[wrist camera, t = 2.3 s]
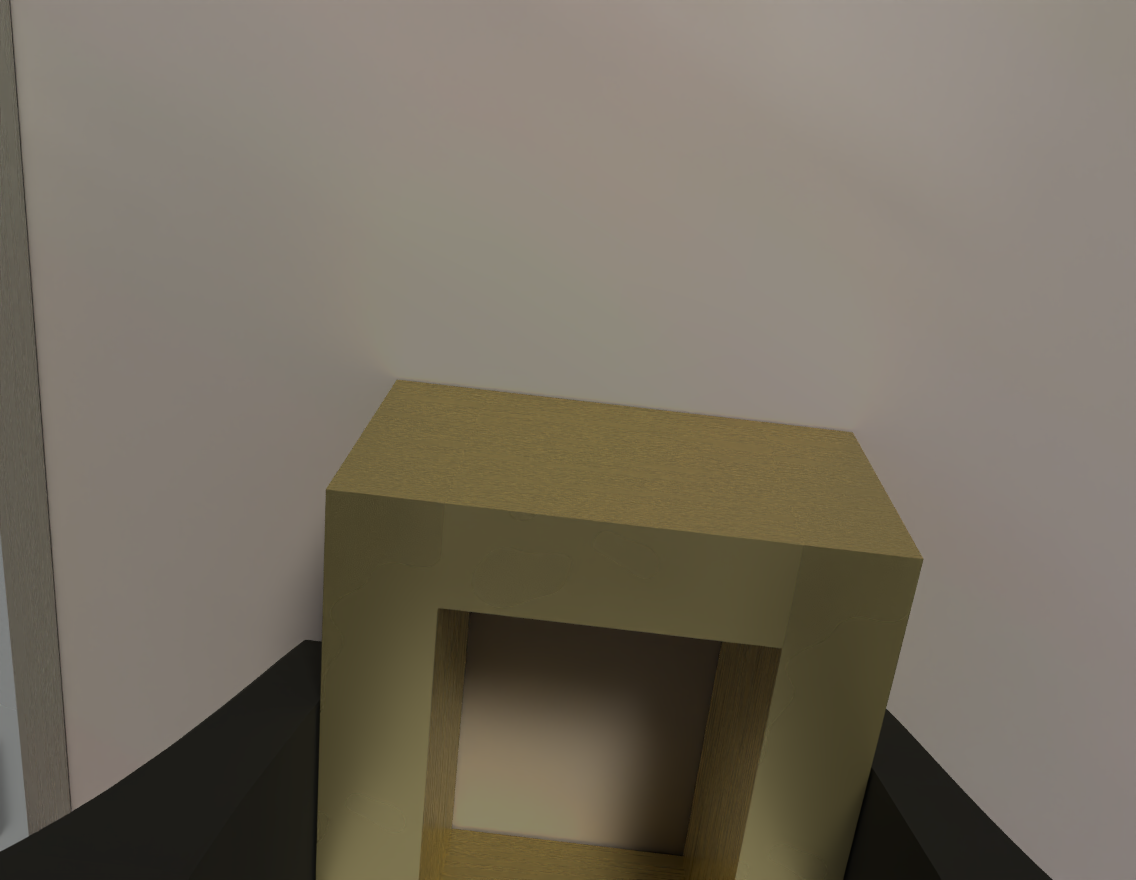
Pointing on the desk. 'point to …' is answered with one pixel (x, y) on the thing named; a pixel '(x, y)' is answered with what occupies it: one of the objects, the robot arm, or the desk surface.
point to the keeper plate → (23, 523)
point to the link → (606, 620)
